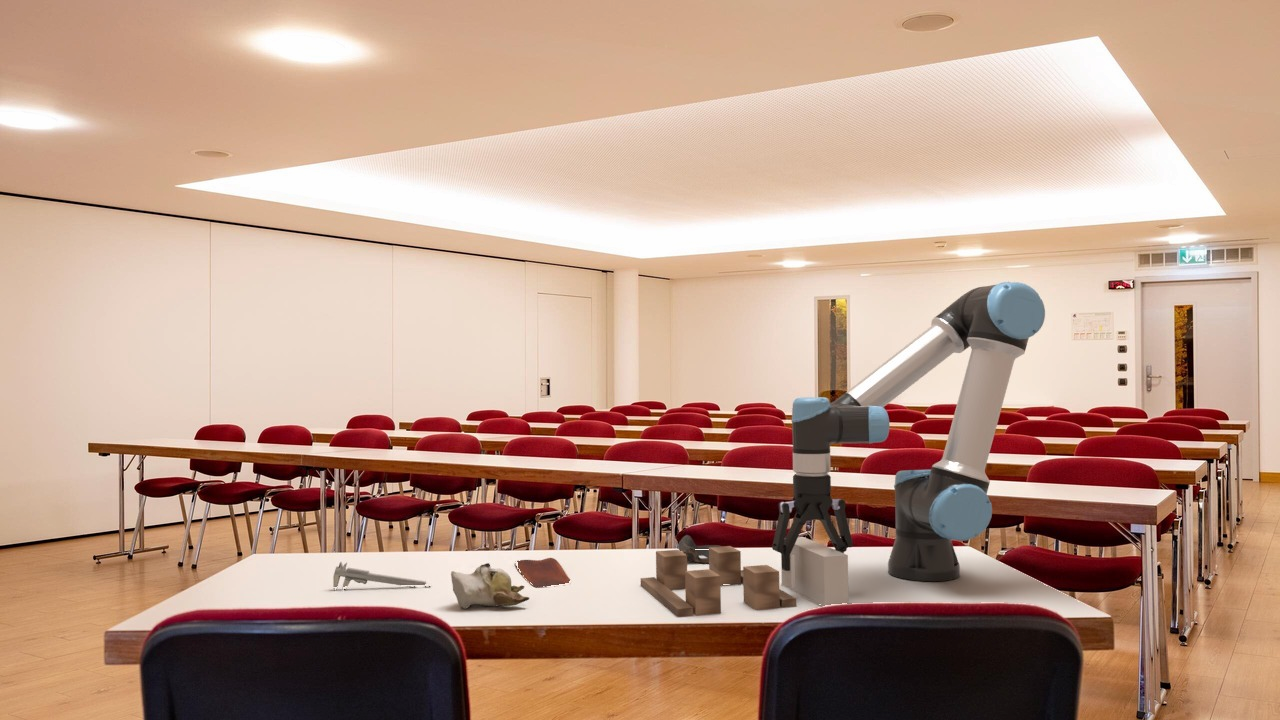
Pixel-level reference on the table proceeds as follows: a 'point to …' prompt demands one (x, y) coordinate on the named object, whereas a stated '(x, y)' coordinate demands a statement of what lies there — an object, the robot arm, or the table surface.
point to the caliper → (368, 577)
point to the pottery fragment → (695, 555)
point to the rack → (713, 583)
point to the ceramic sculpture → (486, 588)
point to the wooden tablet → (543, 572)
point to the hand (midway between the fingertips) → (813, 584)
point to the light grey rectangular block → (819, 573)
